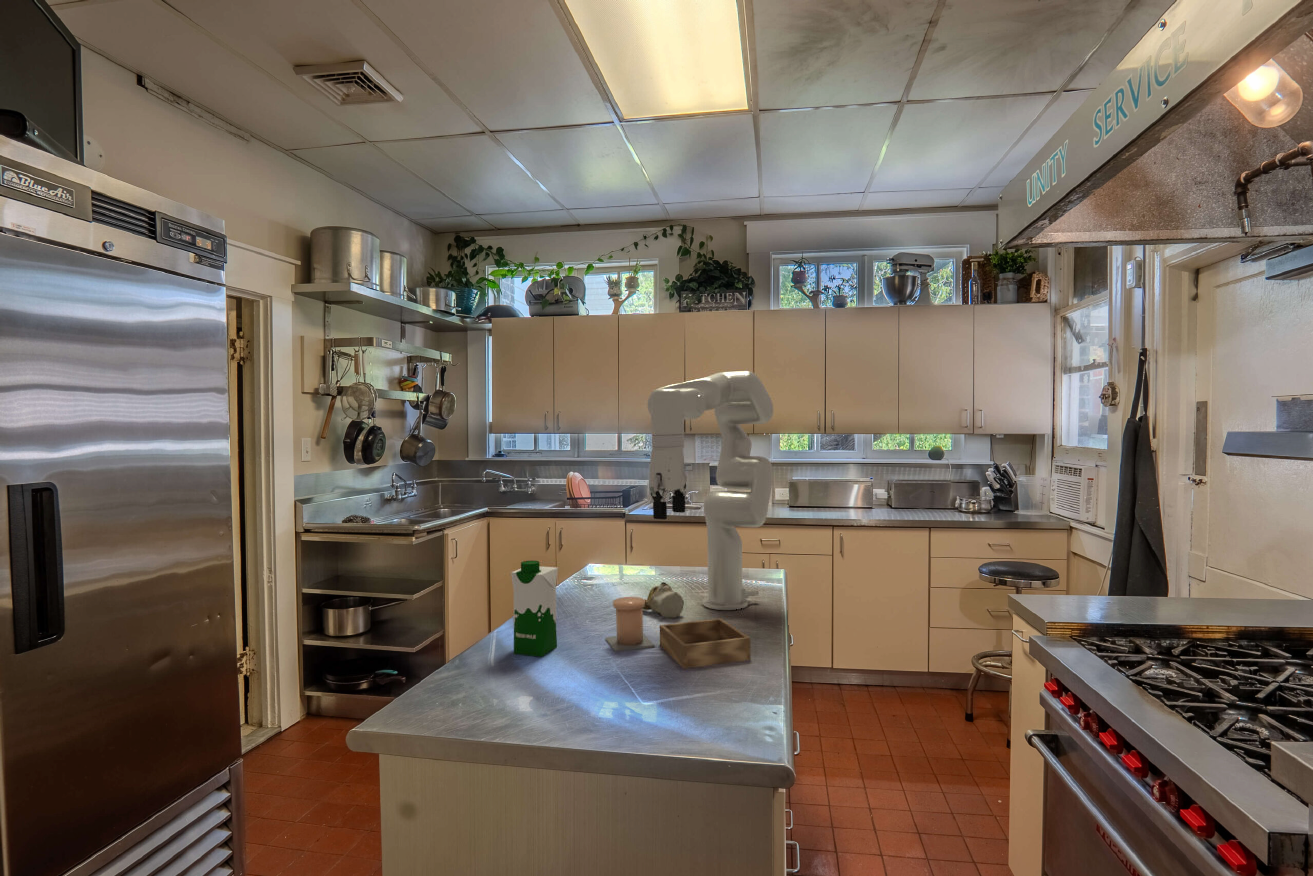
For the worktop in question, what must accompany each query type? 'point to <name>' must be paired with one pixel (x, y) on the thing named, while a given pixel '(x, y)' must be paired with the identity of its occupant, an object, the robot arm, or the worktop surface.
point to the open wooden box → (704, 643)
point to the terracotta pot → (629, 620)
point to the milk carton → (534, 609)
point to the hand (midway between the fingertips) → (669, 515)
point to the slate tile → (620, 647)
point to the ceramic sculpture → (664, 601)
